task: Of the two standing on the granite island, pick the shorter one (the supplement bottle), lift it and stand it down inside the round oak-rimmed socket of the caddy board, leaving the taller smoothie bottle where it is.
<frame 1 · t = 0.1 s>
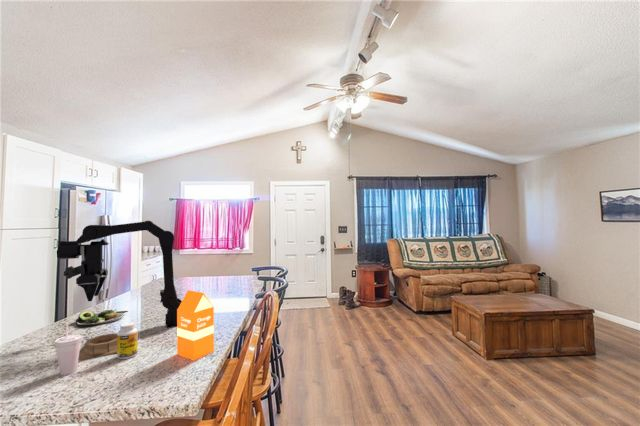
hand: (93, 298, 113), 15 cm above the kitchen island, fingers open, 9 cm apart
orange juice: (195, 353, 97), on the kitchen island
salad plate: (98, 321, 133), on the kitchen island
caddy: (104, 349, 101), on the kitchen island
smoothie: (68, 372, 86), on the kitchen island
supplement bottle: (127, 356, 96), on the kitchen island
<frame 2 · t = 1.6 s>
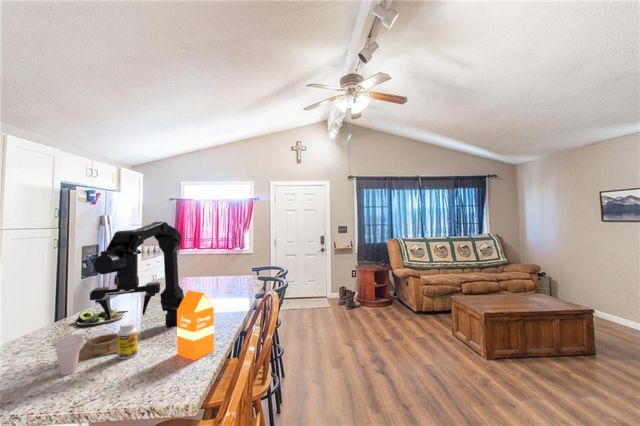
hand: (127, 317, 96), 12 cm above the kitchen island, fingers open, 9 cm apart
nothing on the kitchen island moved.
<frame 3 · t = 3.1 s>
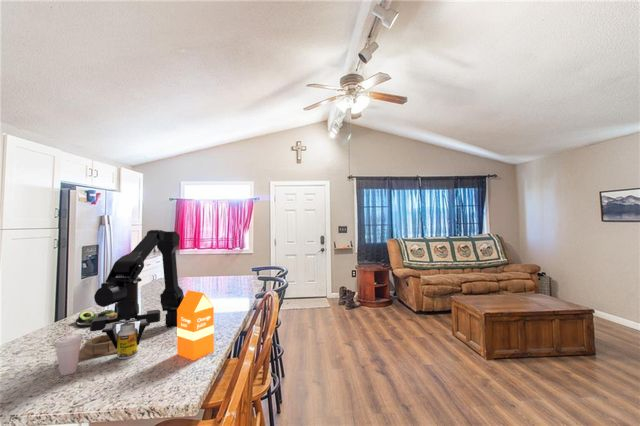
hand: (127, 346, 96), 3 cm above the kitchen island, fingers closed on supplement bottle, 6 cm apart
supplement bottle: (127, 356, 96), on the kitchen island, touching gripper
everything else where it was.
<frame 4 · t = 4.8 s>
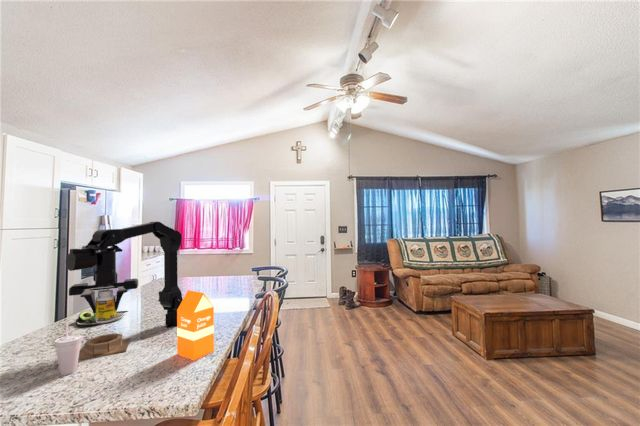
hand: (105, 311, 101), 13 cm above the kitchen island, fingers closed on supplement bottle, 6 cm apart
supplement bottle: (106, 321, 101), point 10 cm above the kitchen island, touching gripper
everything else where it was.
when the fingers open (5 cm above the kitchen island, at t = 6.7 s): supplement bottle drops 2 cm, resting on caddy.
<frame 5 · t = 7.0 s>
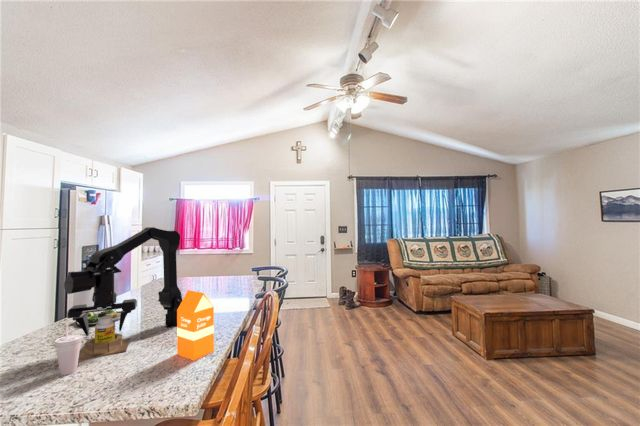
hand: (104, 333, 101), 5 cm above the kitchen island, fingers open, 9 cm apart
supplement bottle: (104, 348, 101), resting on caddy
everything else where it was.
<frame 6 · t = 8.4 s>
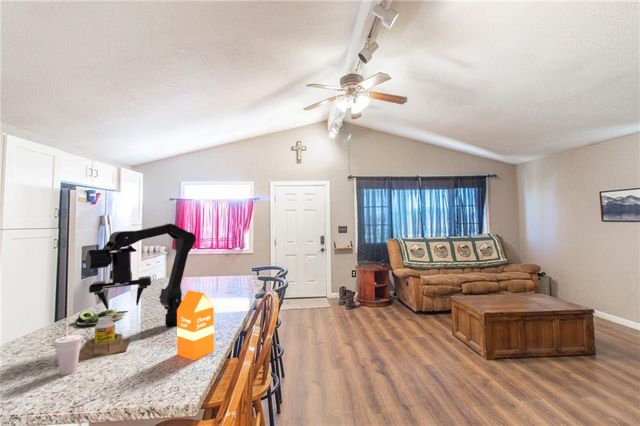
hand: (122, 307, 110), 12 cm above the kitchen island, fingers open, 9 cm apart
nothing on the kitchen island moved.
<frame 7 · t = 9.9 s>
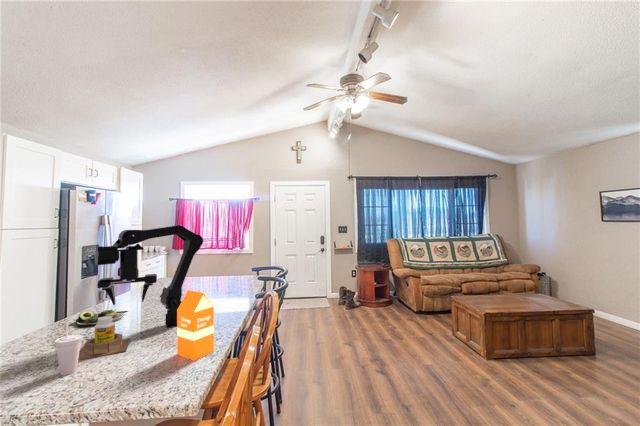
hand: (128, 303, 113), 13 cm above the kitchen island, fingers open, 9 cm apart
nothing on the kitchen island moved.
at the end: supplement bottle 0.2 cm off-centre on the caddy, point 0.3 cm above the caddy's base; supplement bottle tilted 1°; the gripper is holding nothing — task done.
